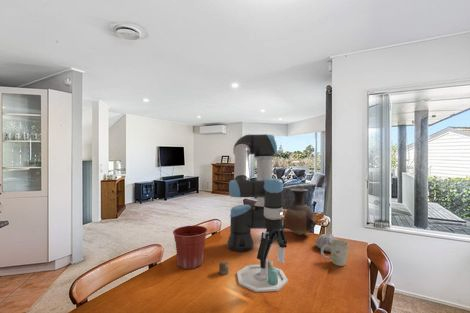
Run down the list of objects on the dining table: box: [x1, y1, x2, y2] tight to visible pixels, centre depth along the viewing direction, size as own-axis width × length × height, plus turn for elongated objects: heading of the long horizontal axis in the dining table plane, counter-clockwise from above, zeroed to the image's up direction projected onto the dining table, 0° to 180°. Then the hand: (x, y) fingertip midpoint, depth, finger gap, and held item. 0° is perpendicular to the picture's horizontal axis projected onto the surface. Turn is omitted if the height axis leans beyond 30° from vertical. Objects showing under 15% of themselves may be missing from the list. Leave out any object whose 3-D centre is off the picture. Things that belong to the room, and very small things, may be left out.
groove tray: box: [236, 264, 289, 293], centre depth 99 cm, size 20×20×2 cm
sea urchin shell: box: [315, 233, 339, 253], centre depth 132 cm, size 13×14×8 cm
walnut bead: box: [218, 261, 229, 276], centre depth 103 cm, size 4×4×5 cm
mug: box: [320, 239, 350, 267], centre depth 115 cm, size 8×13×10 cm, turn 78°
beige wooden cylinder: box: [266, 258, 274, 269], centre depth 103 cm, size 4×4×5 cm
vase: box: [284, 188, 316, 236], centre depth 154 cm, size 23×19×30 cm
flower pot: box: [172, 225, 208, 270], centre depth 114 cm, size 16×16×16 cm
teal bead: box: [268, 267, 278, 285], centre depth 95 cm, size 4×4×5 cm
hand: (272, 268), depth 96 cm, fingers open, 13 cm apart
